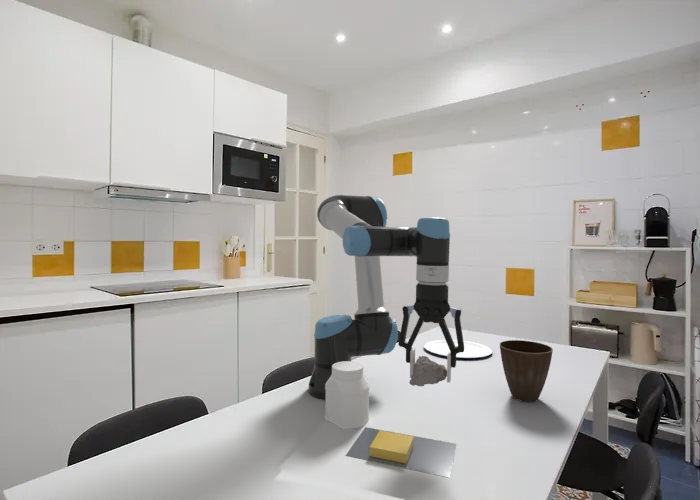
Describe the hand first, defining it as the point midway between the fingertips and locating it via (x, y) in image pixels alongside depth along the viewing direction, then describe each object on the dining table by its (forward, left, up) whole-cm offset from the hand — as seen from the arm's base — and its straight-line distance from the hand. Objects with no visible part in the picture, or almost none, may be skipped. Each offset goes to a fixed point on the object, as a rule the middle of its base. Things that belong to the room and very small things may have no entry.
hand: (430, 378), depth 94 cm
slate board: (-5, -9, -15) cm, 18 cm away
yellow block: (-7, -6, -13) cm, 16 cm away
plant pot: (+23, +37, -15) cm, 47 cm away
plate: (-1, +84, -16) cm, 86 cm away
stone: (-1, -1, -1) cm, 1 cm away
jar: (-22, +1, -15) cm, 27 cm away
